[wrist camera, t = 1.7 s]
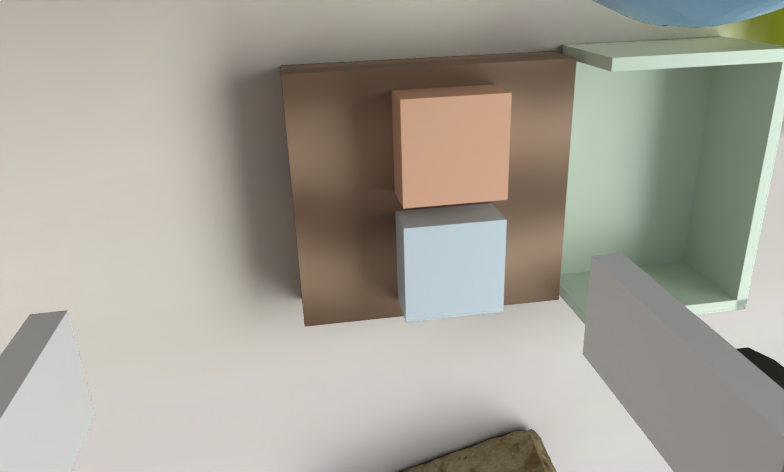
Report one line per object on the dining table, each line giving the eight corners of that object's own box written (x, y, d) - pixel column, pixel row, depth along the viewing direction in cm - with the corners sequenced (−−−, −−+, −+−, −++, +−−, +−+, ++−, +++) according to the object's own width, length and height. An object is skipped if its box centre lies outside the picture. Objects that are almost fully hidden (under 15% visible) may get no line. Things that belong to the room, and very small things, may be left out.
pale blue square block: (395, 211, 33) (403, 228, 30) (491, 203, 33) (506, 219, 31) (398, 300, 34) (405, 322, 32) (489, 290, 35) (503, 311, 33)
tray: (562, 44, 34) (612, 57, 29) (721, 36, 35) (797, 47, 30) (546, 279, 39) (586, 326, 34) (685, 265, 40) (745, 308, 35)
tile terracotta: (391, 90, 30) (400, 99, 28) (495, 84, 31) (511, 92, 29) (394, 192, 32) (403, 208, 30) (492, 184, 33) (507, 199, 31)
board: (280, 65, 32) (280, 74, 29) (552, 51, 34) (576, 58, 31) (302, 300, 37) (304, 326, 34) (538, 276, 39) (558, 299, 36)
